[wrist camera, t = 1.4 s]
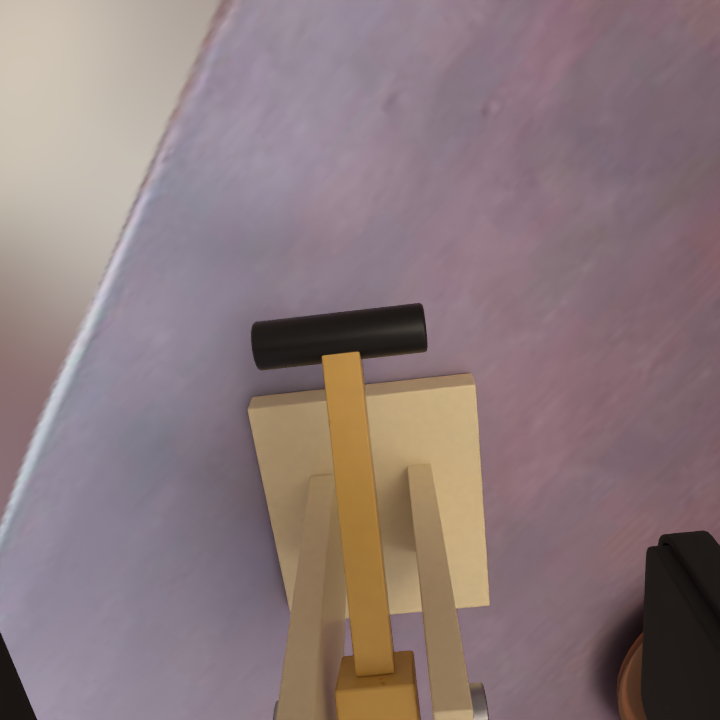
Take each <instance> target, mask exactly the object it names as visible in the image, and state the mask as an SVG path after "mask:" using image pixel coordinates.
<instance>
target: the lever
mask: <svg viewBox="0 0 720 720" xmlns="http://www.w3.org/2000/svg"><path fill="white" fill-rule="evenodd" d="M251 345H252V352H253V357H254V361H255V364H256V366H257V368H258V369H259V370H270V369H278V368H287V367H296V366H305V365H314V364H322V365H323V374H324V384H325V393H326V403H327V412H328V421H329V431H330V440H331V450H332V459H333V468H334V478H335V487H336V496H337V506H338V515H339V525H340V534H341V543H342V553H343V562H344V572H345V581H346V590H347V600H348V609H349V618H350V628H351V637H352V647H353V656H344V657H342V660H341V665H340V669H339V674H338V679H337V683H336V688H335V692H334V693H335V703H336V712H337V720H421V716H420V707H419V698H418V689H417V680H416V670H415V661H414V653H413V651H399V652H394V647H393V638H392V629H391V620H390V610H389V601H388V592H387V583H386V574H385V565H384V556H383V546H382V537H381V528H380V519H379V510H378V501H377V492H376V482H375V473H374V464H373V455H372V446H371V437H370V428H369V418H368V409H367V400H366V391H365V382H364V373H363V364H362V359H368V358H377V357H386V356H395V355H404V354H413V353H421V352H426V351H427V333H426V324H425V316H424V309H423V306H422V304H421V303H415V304H407V305H398V306H389V307H381V308H372V309H363V310H355V311H346V312H338V313H329V314H320V315H312V316H303V317H294V318H286V319H277V320H269V321H260V322H255V323H253V325H252V330H251Z"/></svg>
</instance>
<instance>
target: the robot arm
mask: <svg viewBox="0 0 720 720" xmlns="http://www.w3.org/2000/svg"><path fill="white" fill-rule="evenodd" d="M641 699H642V704H643V708H644V712H645V715H646V718H647V720H720V546H719V544H718V543H717V542H716V540H715V539H714V538H713V537H712V536H711V535H710V534H709V533H708V532H706V531H694V532H684V533H673V534H664V535H662V536H661V537H660V539H659V543H658V546H653V547H649V548H648V549H647V553H646V571H645V595H644V619H643V643H642V667H641ZM0 720H37V718H36V716H35V714H34V711H33V709H32V707H31V704H30V702H29V699H28V697H27V695H26V692H25V690H24V688H23V685H22V683H21V680H20V678H19V676H18V673H17V671H16V668H15V666H14V664H13V661H12V659H11V657H10V654H9V652H8V649H7V647H6V645H5V642H4V640H3V638H2V635H1V633H0Z"/></svg>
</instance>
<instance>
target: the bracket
mask: <svg viewBox="0 0 720 720" xmlns="http://www.w3.org/2000/svg"><path fill="white" fill-rule="evenodd" d="M365 391H366V400H367V409H368V418H369V428H370V437H371V446H372V455H373V464H374V473H375V482H376V492H377V501H378V510H379V519H380V528H381V537H382V546H383V556H384V565H385V574H386V583H387V592H388V601H389V610H390V614H401V613H412V612H422V614H423V624H424V633H425V643H426V652H427V662H428V671H429V681H430V690H431V700H432V709H433V718H434V720H489V714H488V707H487V701H486V695H485V690H484V686H483V684H482V683H469V682H468V677H467V671H466V665H465V659H464V653H463V647H462V641H461V635H460V630H459V624H458V618H457V612H456V609H457V608H468V607H479V606H489V605H490V598H489V583H488V567H487V552H486V536H485V521H484V506H483V490H482V475H481V459H480V444H479V428H478V413H477V397H476V385H475V382H474V379H473V377H472V374H471V373H466V374H457V375H448V376H438V377H429V378H420V379H411V380H402V381H393V382H384V383H375V384H366V385H365ZM247 411H248V415H249V420H250V425H251V430H252V434H253V439H254V444H255V449H256V453H257V458H258V463H259V468H260V472H261V477H262V482H263V487H264V491H265V496H266V501H267V506H268V510H269V515H270V520H271V525H272V529H273V534H274V539H275V544H276V548H277V553H278V558H279V563H280V567H281V572H282V577H283V582H284V586H285V591H286V596H287V600H288V605H289V610H290V623H289V630H288V637H287V644H286V651H285V658H284V665H283V672H282V679H281V686H280V693H279V700H277V702H276V704H275V708H274V715H273V720H337V712H336V703H335V693H334V692H335V688H336V683H337V679H338V674H339V669H340V665H341V660H342V657H344V637H345V619H346V618H349V609H348V600H347V590H346V581H345V572H344V562H343V553H342V543H341V534H340V525H339V515H338V506H337V496H336V487H335V478H334V468H333V459H332V450H331V440H330V431H329V421H328V412H327V403H326V393H325V389H320V390H311V391H302V392H293V393H284V394H274V395H265V396H256V397H252V399H251V401H250V404H249V407H248V410H247Z"/></svg>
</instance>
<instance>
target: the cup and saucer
mask: <svg viewBox="0 0 720 720" xmlns="http://www.w3.org/2000/svg"><path fill="white" fill-rule="evenodd" d="M642 643H643V632H642V634H641V635H640V636H639V637H638V638H637V639H636V641H635V642H634V644H633V645H632V646H631V648H630V650H629V651H628V653H627V655H626V657H625V659H624V661H623V663H622V666H621V669H620V672H619V675H618V681H617V704H618V711H619V715H620V719H621V720H647V718H646V715H645V712H644V708H643V704H642V699H641V667H642Z"/></svg>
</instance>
